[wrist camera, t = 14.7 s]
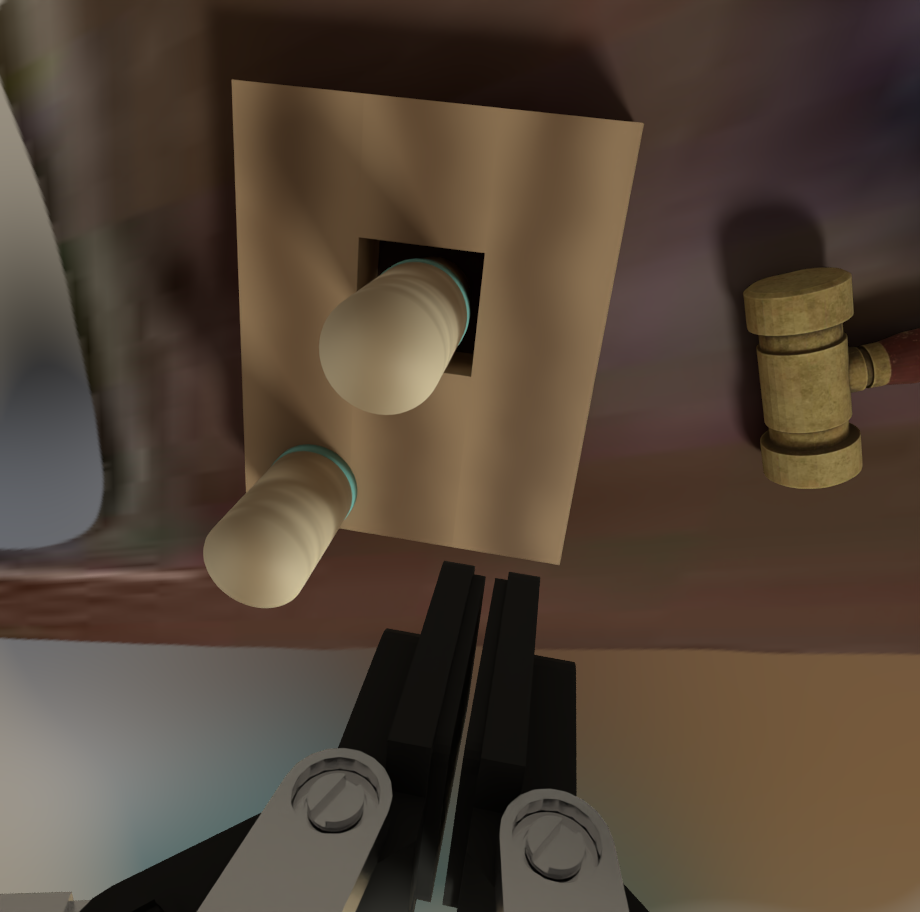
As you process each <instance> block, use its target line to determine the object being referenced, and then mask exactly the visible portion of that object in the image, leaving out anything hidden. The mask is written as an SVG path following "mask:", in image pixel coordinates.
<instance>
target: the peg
mask: <svg viewBox="0 0 920 912" xmlns="http://www.w3.org/2000/svg"><path fill="white" fill-rule="evenodd" d="M470 301H471V290H470V285H469V282H468V279H467V277H466V276H465V274H464V273H463V271H462V270H461V269H460V268H459V267H458V266H457V265H456V264H455V263H453V262H452V261H450V260H448V259H445V258H442V257H437V256H428V257H423V258H414V259H407V260H403V261H401V262H398V263H396V264H394V265H393V266H391V267H389V268H388V269H387V270H385V271H384V272H383V273H382V274H381V275H380V276H378V277H377V278H376V279H374V280H373V281H371V282H370V283H368V284H367V285H366V286H364V287H363V288H361V289H360V290H358V291H357V292H355V293H354V294H353V295H351V296H350V297H348V298H347V299H345V300H344V301H343V302H341V303H340V304H339V305H337V307H336V308H335V309H334V310H333V311H332V312H331V313H330V315H329V316H328V317H327V319H326V321H325V323H324V325H323V328H322V331H321V335H320V341H319V355H320V361H321V365H322V368H323V371H324V373H325V376H326V378H327V380H328V381H329V383H330V384H331V386H332V387H333V388H334V390H335V391H336V392H337V393H338V394H339V395H340V396H341V397H342V398H343V399H344V400H346V401H347V402H348V403H350V404H351V405H353V406H355V407H356V408H359V409H361V410H363V411H366V412H369V413H373V414H379V415H394V414H399V413H403V412H406V411H409V410H411V409H413V408H415V407H417V406H418V405H420V404H421V403H423V402H424V401H425V400H426V399H427V398H428V397H429V396H430V395H431V393H432V392H433V391H434V389H435V387H436V386H437V384H438V382H439V380H440V378H441V376H442V374H443V373H444V371H445V369H446V367H447V365H448V363H449V361H450V359H451V357H452V356H453V354H454V352H455V350H456V348H457V346H458V345H459V344H460V342H461V341H462V339H463V337H464V335H465V333H466V331H467V328H468V325H469V320H470Z"/></svg>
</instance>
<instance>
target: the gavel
mask: <svg viewBox="0 0 920 912" xmlns="http://www.w3.org/2000/svg"><path fill="white" fill-rule="evenodd" d="M743 296H744V305H745V314H746V322H747V330H748V331H749V332H751V333H753V334H757V335H759V344H758V345H757V358H758V367H759V376H760V385H761V394H762V403H763V412H764V421H765V424H766V425H767V426H768V427H769V430H768V431H766V432H765V433H764V434H763V435H762V436H761V438H760V444H761V453H762V462H763V471H764V474H765V476H766V477H767V478H768V479H769V480H771V481H773V482H775V483H778V484H781V485H784V486H787V487H792V488H800V489H815V488H824V487H830V486H834V485H837V484H840V483H843V482H845V481H847V480H849V479H851V478H853V477H855V476H856V475H857V474H859V472H860V471H861V469H862V450H861V433H860V430H859V429H858V428H857V427H856V426H854V425H853V424H851V423H849V419H850V418H851V416H852V404H851V393H852V392H857V391H861V390H864V389H865V388H873V387H878V386H882V385H892V384H910V383H918V382H920V328H918V329H914V330H909V331H905V332H901V333H898V334H896V335H893V336H891V337H888V338H886V339H883V340H880V341H878V342H875V343H870V344H866V345H861V346H859V347H858V348H856V347H850V348H848V339H847V334H846V333H844V332H843V322H845V321H846V320H848V319H850V318H851V317H852V316H853V313H854V310H853V292H852V275H851V273H849V272H847V271H845V270H843V269H839V268H811V269H803V270H799V271H794V272H790V273H785V274H781V275H777V276H772V277H768V278H764V279H762V280H759V281H757V282H755V283H753V284H752V285H750V286H749V287H748V288H747V289H746V290H745V291H744V292H743Z"/></svg>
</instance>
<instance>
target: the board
mask: <svg viewBox="0 0 920 912" xmlns="http://www.w3.org/2000/svg"><path fill="white" fill-rule="evenodd" d="M232 106H233V134H234V163H235V191H236V219H237V247H238V276H239V304H240V332H241V361H242V389H243V417H244V446H245V474H246V494H245V495H244V496H243V497H242V498H241V499H240V500H239V501H238V502H237V503H236V505H235V506H234V507H233V508H232V509H231V510H230V511H229V512H228V513H227V514H226V515H225V516H224V517H223V518H222V519H221V520H220V521H219V523H218V524H217V525H216V526H215V527H214V528H213V529H212V530H211V531H210V533H209V534H208V536H207V538H206V541H205V544H204V553H203V555H204V562H205V565H206V568H207V570H208V573H209V574H210V576H211V578H212V579H213V581H214V582H215V584H216V585H217V586H218V587H219V588H220V589H221V590H222V591H223V592H224V593H226V594H227V595H228V596H230V597H231V598H233V599H235V600H236V601H239V602H241V603H243V604H246V605H249V606H253V607H258V608H273V607H278V606H282V605H284V604H286V603H288V602H290V601H291V600H293V599H294V598H295V597H296V596H297V595H298V594H299V592H300V591H301V589H302V588H303V586H304V584H305V583H306V581H307V580H308V578H309V576H310V575H311V573H312V571H313V570H314V568H315V566H316V565H317V563H318V562H319V560H320V558H321V557H322V555H323V553H324V552H325V550H326V549H327V547H328V545H329V544H330V542H331V540H332V539H333V537H334V536H335V534H336V532H337V531H338V529H339V528H341V529H347V530H353V531H359V532H365V533H371V534H377V535H383V536H389V537H395V538H401V539H407V540H413V541H419V542H425V543H431V544H437V545H443V546H449V547H455V548H461V549H467V550H473V551H479V552H485V553H491V554H497V555H503V556H509V557H515V558H521V559H527V560H533V561H539V562H545V563H551V564H557V565H559V564H560V559H561V554H562V549H563V543H564V538H565V533H566V528H567V522H568V517H569V512H570V507H571V501H572V496H573V491H574V486H575V481H576V475H577V470H578V465H579V460H580V454H581V449H582V444H583V439H584V434H585V428H586V423H587V418H588V413H589V407H590V402H591V397H592V392H593V386H594V381H595V376H596V371H597V366H598V360H599V355H600V350H601V345H602V339H603V334H604V329H605V324H606V318H607V313H608V308H609V303H610V298H611V292H612V287H613V282H614V277H615V271H616V266H617V261H618V256H619V251H620V245H621V240H622V235H623V230H624V224H625V219H626V214H627V209H628V203H629V198H630V193H631V188H632V183H633V177H634V172H635V167H636V162H637V156H638V151H639V146H640V141H641V136H642V130H643V125H644V123H637V122H628V121H618V120H609V119H600V118H590V117H581V116H571V115H562V114H552V113H543V112H533V111H524V110H515V109H505V108H496V107H486V106H477V105H467V104H458V103H448V102H439V101H430V100H420V99H411V98H401V97H392V96H382V95H373V94H363V93H354V92H345V91H335V90H326V89H316V88H307V87H297V86H288V85H278V84H269V83H260V82H250V81H241V80H232ZM380 240H385V241H393V242H401V243H409V244H417V245H424V246H432V247H440V248H448V249H456V250H464V251H472V252H480V253H485V257H484V266H483V275H482V284H481V293H480V302H479V311H478V320H477V329H476V338H475V347H474V354H471V353H464V352H456V351H455V352H454V354H453V356H452V357H451V359H450V361H449V363H448V365H447V367H446V369H445V371H444V373H443V374H442V376H441V378H440V380H439V382H438V384H437V386H436V387H435V389H434V391H433V392H432V393H431V395H430V396H429V397H428V398H427V399H426V400H425V401H424V402H423V403H421V404H420V405H418V406H417V407H415V408H413V409H411V410H409V411H406V412H403V413H399V414H394V415H379V414H373V413H369V412H366V411H363V410H361V409H359V408H356V407H355V406H353V405H351V404H350V403H348V402H347V401H346V400H344V399H343V398H342V397H341V396H340V395H339V394H338V393H337V392H336V391H335V390H334V388H333V387H332V386H331V384H330V383H329V381H328V380H327V378H326V376H325V373H324V371H323V368H322V365H321V361H320V355H319V341H320V335H321V331H322V328H323V325H324V323H325V321H326V319H327V317H328V316H329V315H330V313H331V312H332V311H333V310H334V309H335V308H336V307H337V305H339V304H340V303H341V302H343V301H344V300H345V299H347V298H348V297H350V296H351V295H353V294H354V293H355V292H357V291H358V290H360V289H361V288H363V287H364V286H366V285H367V284H368V283H370V282H371V281H373V280H374V279H376V278H377V277H378V263H379V242H380Z"/></svg>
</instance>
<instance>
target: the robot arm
mask: <svg viewBox="0 0 920 912" xmlns="http://www.w3.org/2000/svg"><path fill="white" fill-rule="evenodd" d="M474 571H475V566H472V565H466V564H460V563H454V562H448V561H444V562H443V565H442V568H441V571H440V574H439V577H438V581H437V584H436V587H435V590H434V593H433V597H432V600H431V603H430V606H429V609H428V613H427V616H426V619H425V622H424V625H423V629H422V632H421V634H415V633H410V632H404V631H399V630H393V629H386V630H385V631H384V633H383V635H382V637H381V639H380V642H379V645H378V647H377V650H376V652H375V655H374V657H373V660H372V662H371V665H370V668H369V670H368V673H367V676H366V678H365V681H364V683H363V686H362V688H361V691H360V693H359V696H358V698H357V701H356V704H355V706H354V708H353V711H352V714H351V716H350V719H349V721H348V724H347V726H346V729H345V732H344V734H343V737H342V739H341V742H340V744H339V747H338V748H336V749H326V750H323V751H320V752H317V753H314V754H311V755H309V756H308V757H306V758H305V759H303V760H301V761H300V762H298V763H297V764H296V765H295V766H294V767H293V768H292V769H291V771H290V772H289V773H288V774H287V775H286V777H285V778H284V779H283V781H282V783H281V784H280V786H279V787H278V789H277V790H276V792H275V793H274V795H273V796H272V798H271V799H270V801H269V802H268V804H267V805H266V807H265V808H264V810H263V811H262V813H260V814H258V815H256V816H253V817H251V818H249V819H247V820H245V821H243V822H241V823H239V824H237V825H235V826H233V827H231V828H229V829H227V830H225V831H223V832H221V833H219V834H217V835H215V836H213V837H211V838H209V839H207V840H205V841H203V842H201V843H198V844H197V845H195V846H192V847H190V848H189V849H186V850H184V851H182V852H180V853H178V854H176V855H174V856H172V857H170V858H168V859H166V860H164V861H162V862H160V863H158V864H156V865H154V866H152V867H150V868H148V869H146V870H144V871H142V872H140V873H137V874H135V875H133V876H131V877H130V878H127V879H125V880H123V881H121V882H119V883H117V884H115V885H113V886H111V887H110V888H108V889H107V890H105V891H104V892H102V893H100V894H99V895H97V896H96V897H94V898H93V899H92V900H84V901H83V900H82V901H74V900H73V896H72V892H54V893H53V892H51V893H18V894H0V912H414V909H415V904H416V900H417V899H419V900H423V901H428V902H431V897H432V892H433V887H434V882H435V877H436V871H437V866H438V861H439V855H440V850H441V845H442V840H443V834H444V828H445V823H446V818H447V813H448V807H449V803H450V797H451V792H452V787H453V781H454V776H455V770H456V765H457V760H458V755H459V749H460V744H461V739H462V733H463V728H464V723H465V718H466V712H467V706H468V700H469V694H470V686H471V679H472V671H473V665H474V658H475V650H476V643H477V636H478V629H479V622H480V614H481V607H482V600H483V593H484V586H485V576H480V575H474ZM539 586H540V577H537V576H531V575H525V574H519V573H513V572H509V575H508V580H504V579H498V578H495V583H494V589H493V594H492V600H491V605H490V611H489V616H488V622H487V627H486V633H485V639H484V644H483V650H482V655H481V661H480V666H479V672H478V677H477V683H476V689H475V694H474V699H473V705H472V711H471V716H470V722H469V727H468V733H467V738H466V745H465V750H464V756H463V763H462V770H461V776H460V785H459V791H458V798H457V805H456V812H455V819H454V826H453V833H452V841H451V847H450V855H449V862H448V869H447V876H446V883H445V890H444V897H443V905H446V906H451V907H456V908H457V912H649V911H648V910H647V909H646V908H645V907H644V906H643V905H642V904H641V902H640V901H639V900H638V899H637V898H636V897H635V896H634V895H633V894H632V893H631V891H629V889H628V888H627V887H626V886H625V885H624V884H623V881H622V876H621V872H620V867H619V862H618V858H617V854H616V849H615V844H614V841H613V838H612V836H611V833H610V830H609V828H608V825H607V824H606V823H605V821H604V820H603V819H602V817H601V816H600V815H599V813H598V812H597V811H596V810H595V809H594V808H592V807H591V806H590V805H589V804H588V803H586V802H585V801H584V800H583V799H580V798H578V797H576V666H575V662H570V661H565V660H560V659H554V658H548V657H543V656H538V655H534V651H535V638H536V625H537V612H538V599H539Z"/></svg>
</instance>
